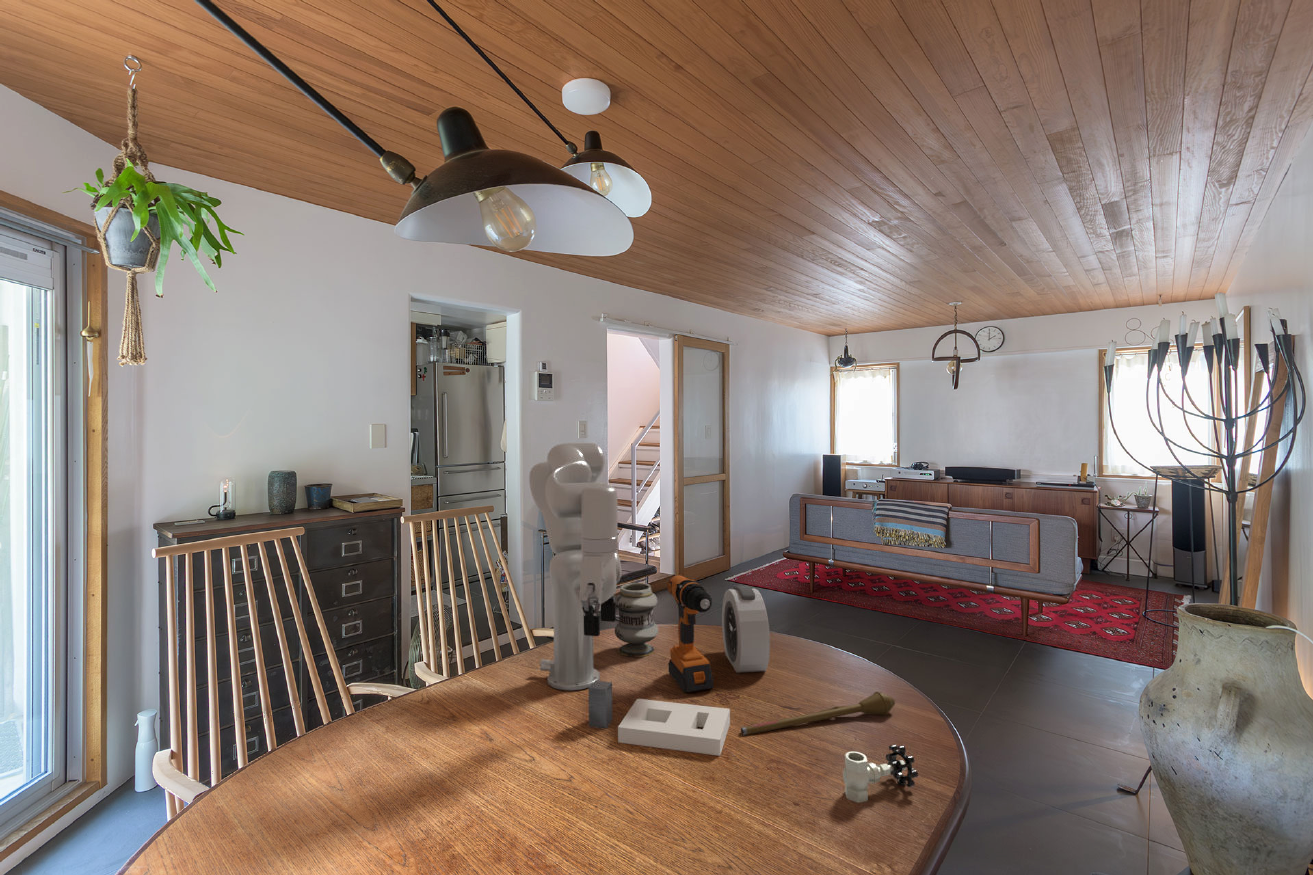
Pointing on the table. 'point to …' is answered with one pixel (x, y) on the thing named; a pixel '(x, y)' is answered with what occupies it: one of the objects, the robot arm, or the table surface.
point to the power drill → (689, 636)
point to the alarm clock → (745, 629)
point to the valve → (875, 772)
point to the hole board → (675, 726)
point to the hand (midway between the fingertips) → (600, 627)
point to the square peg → (600, 704)
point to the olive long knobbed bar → (829, 713)
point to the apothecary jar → (636, 619)
